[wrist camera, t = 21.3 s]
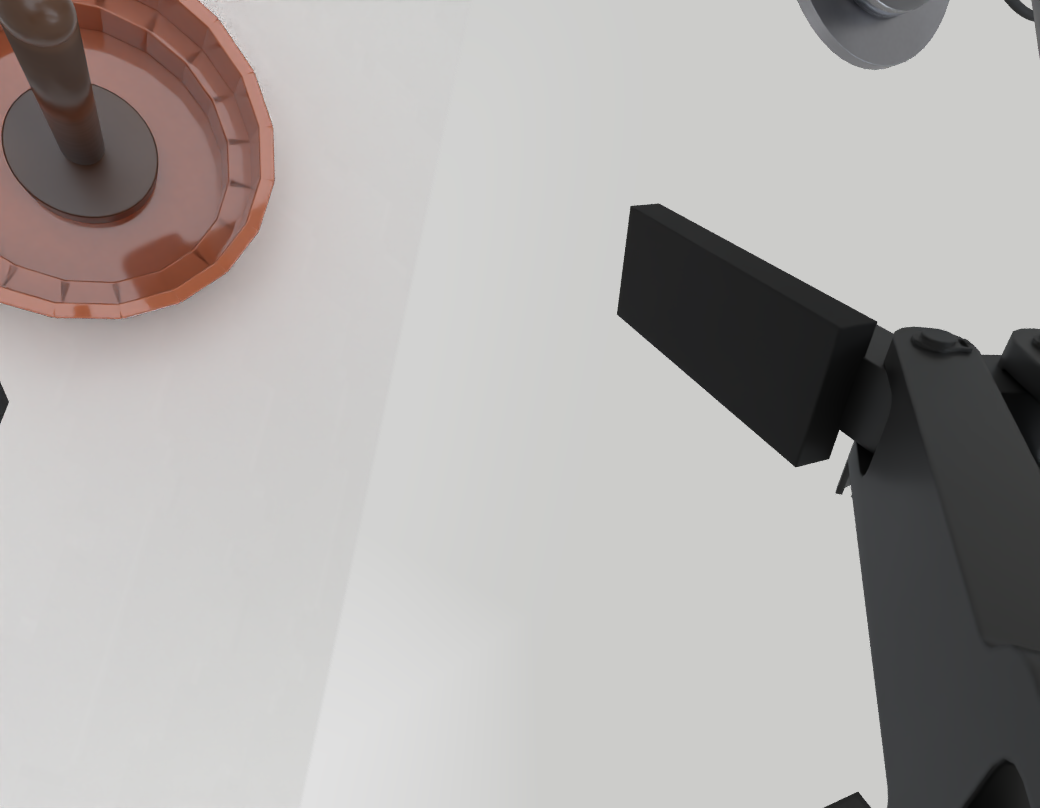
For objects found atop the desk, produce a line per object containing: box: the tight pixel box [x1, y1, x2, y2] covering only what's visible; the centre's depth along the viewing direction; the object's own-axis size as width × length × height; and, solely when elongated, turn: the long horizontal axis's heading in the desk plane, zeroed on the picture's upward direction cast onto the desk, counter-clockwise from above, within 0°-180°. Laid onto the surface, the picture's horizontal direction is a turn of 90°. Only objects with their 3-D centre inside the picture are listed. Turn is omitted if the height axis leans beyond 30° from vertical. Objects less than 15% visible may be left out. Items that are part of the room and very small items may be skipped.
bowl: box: [0, 0, 275, 319], centre depth 29 cm, size 14×14×6 cm
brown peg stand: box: [0, 0, 158, 223], centre depth 23 cm, size 6×6×18 cm
